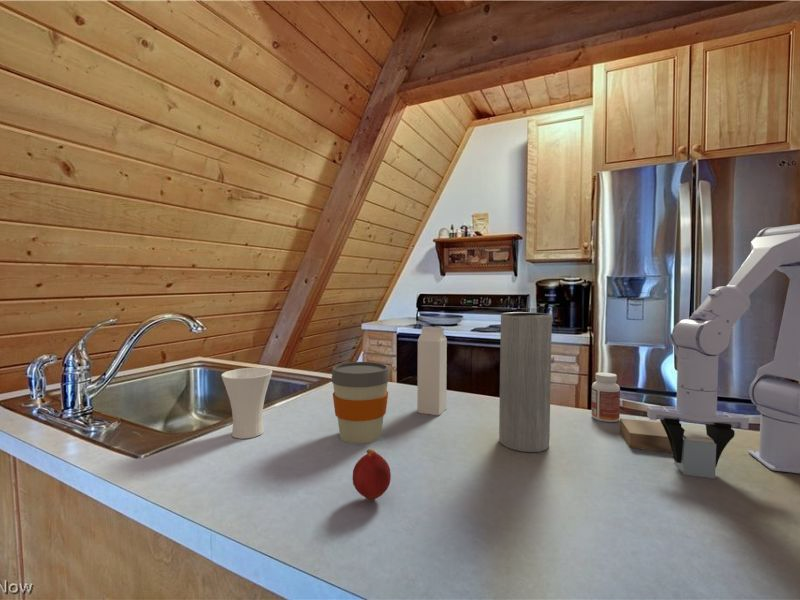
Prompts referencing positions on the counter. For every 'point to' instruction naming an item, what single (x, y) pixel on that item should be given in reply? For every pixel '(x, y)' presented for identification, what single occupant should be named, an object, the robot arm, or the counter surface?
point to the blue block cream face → (697, 455)
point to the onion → (371, 475)
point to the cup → (247, 399)
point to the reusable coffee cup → (360, 400)
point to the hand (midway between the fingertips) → (694, 462)
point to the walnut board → (645, 435)
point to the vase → (525, 381)
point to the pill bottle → (605, 397)
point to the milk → (432, 371)
